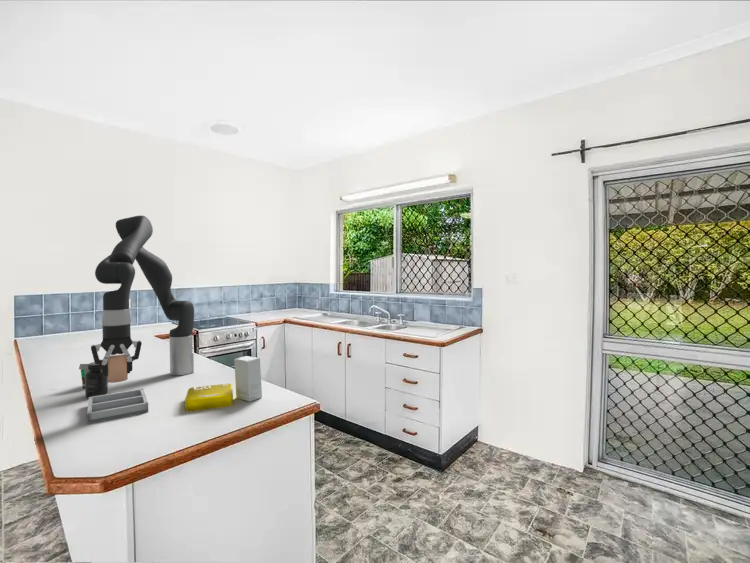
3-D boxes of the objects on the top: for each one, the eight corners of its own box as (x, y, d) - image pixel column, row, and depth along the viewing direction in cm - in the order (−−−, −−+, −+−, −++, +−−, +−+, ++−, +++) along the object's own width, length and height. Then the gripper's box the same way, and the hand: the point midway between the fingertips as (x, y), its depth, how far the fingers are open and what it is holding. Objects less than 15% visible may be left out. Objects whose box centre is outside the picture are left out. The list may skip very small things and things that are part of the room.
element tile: (184, 413, 122) (184, 399, 122) (188, 399, 136) (188, 386, 136) (233, 407, 128) (232, 393, 128) (232, 394, 142) (232, 381, 142)
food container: (92, 390, 145) (91, 365, 145) (79, 389, 146) (78, 364, 146) (119, 381, 157) (119, 357, 157) (107, 380, 158) (107, 357, 158)
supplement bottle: (112, 393, 141) (111, 362, 141) (93, 399, 135) (92, 366, 134) (99, 391, 143) (99, 360, 143) (80, 397, 137) (79, 365, 137)
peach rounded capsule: (127, 376, 125) (126, 353, 125) (128, 380, 121) (127, 356, 121) (107, 379, 122) (106, 355, 122) (107, 383, 118) (107, 358, 117)
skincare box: (262, 397, 136) (261, 357, 136) (248, 402, 131) (247, 361, 131) (248, 393, 141) (248, 354, 141) (234, 397, 136) (233, 357, 136)
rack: (143, 396, 138) (143, 388, 138) (148, 411, 122) (148, 402, 122) (89, 405, 128) (88, 397, 128) (87, 423, 113) (87, 414, 113)
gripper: (141, 320, 128) (142, 368, 129) (89, 323, 120) (90, 375, 120) (143, 322, 122) (144, 373, 123) (88, 326, 114) (89, 380, 114)
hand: (117, 374), depth 121 cm, fingers closed on peach rounded capsule, 5 cm apart
